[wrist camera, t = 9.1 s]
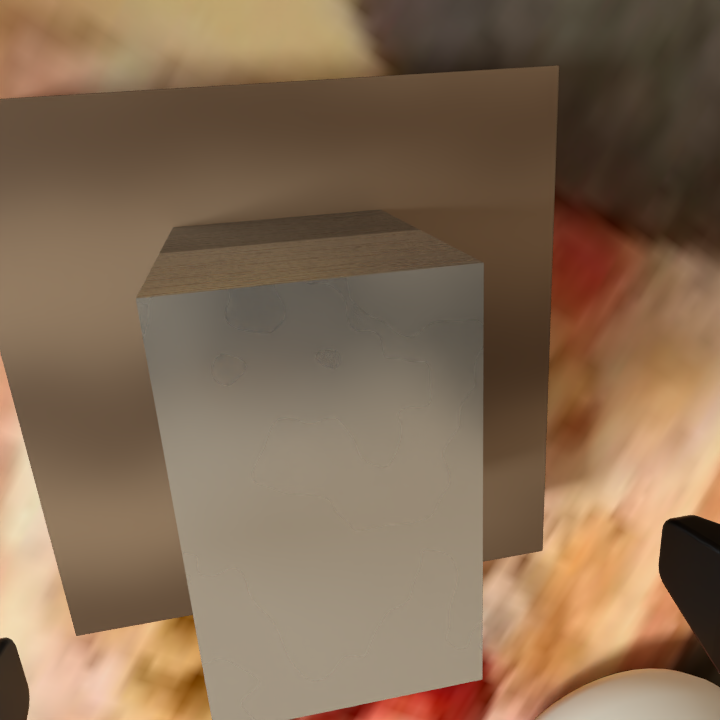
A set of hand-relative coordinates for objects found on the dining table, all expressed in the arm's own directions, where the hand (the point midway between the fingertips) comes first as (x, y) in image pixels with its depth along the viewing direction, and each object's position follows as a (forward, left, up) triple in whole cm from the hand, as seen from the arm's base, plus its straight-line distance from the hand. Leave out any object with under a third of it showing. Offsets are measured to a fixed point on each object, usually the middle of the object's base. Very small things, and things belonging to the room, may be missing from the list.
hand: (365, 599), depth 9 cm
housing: (0, 0, -9) cm, 9 cm away
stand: (0, 0, -12) cm, 12 cm away
